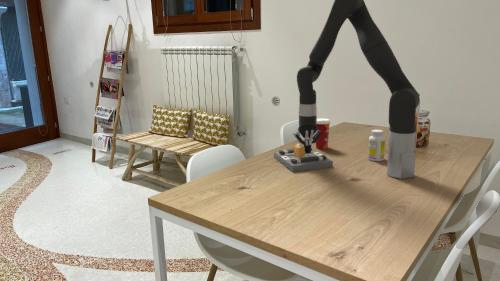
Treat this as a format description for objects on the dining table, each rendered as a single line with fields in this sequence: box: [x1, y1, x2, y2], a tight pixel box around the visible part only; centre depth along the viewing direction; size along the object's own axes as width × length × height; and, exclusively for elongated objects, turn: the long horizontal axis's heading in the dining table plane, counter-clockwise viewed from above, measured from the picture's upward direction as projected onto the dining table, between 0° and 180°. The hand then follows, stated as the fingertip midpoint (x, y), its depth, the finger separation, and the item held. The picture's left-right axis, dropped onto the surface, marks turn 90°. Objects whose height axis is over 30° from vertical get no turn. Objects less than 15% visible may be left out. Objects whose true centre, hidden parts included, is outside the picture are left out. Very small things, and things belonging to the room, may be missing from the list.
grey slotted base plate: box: [279, 147, 327, 164], centre depth 168 cm, size 17×15×4 cm
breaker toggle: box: [293, 143, 305, 158], centre depth 167 cm, size 5×3×5 cm, turn 16°
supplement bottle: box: [367, 129, 386, 162], centre depth 167 cm, size 7×7×13 cm
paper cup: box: [315, 117, 331, 150], centre depth 188 cm, size 8×8×14 cm
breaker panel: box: [273, 148, 334, 173], centre depth 168 cm, size 22×18×3 cm
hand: (307, 152), depth 169 cm, fingers closed
